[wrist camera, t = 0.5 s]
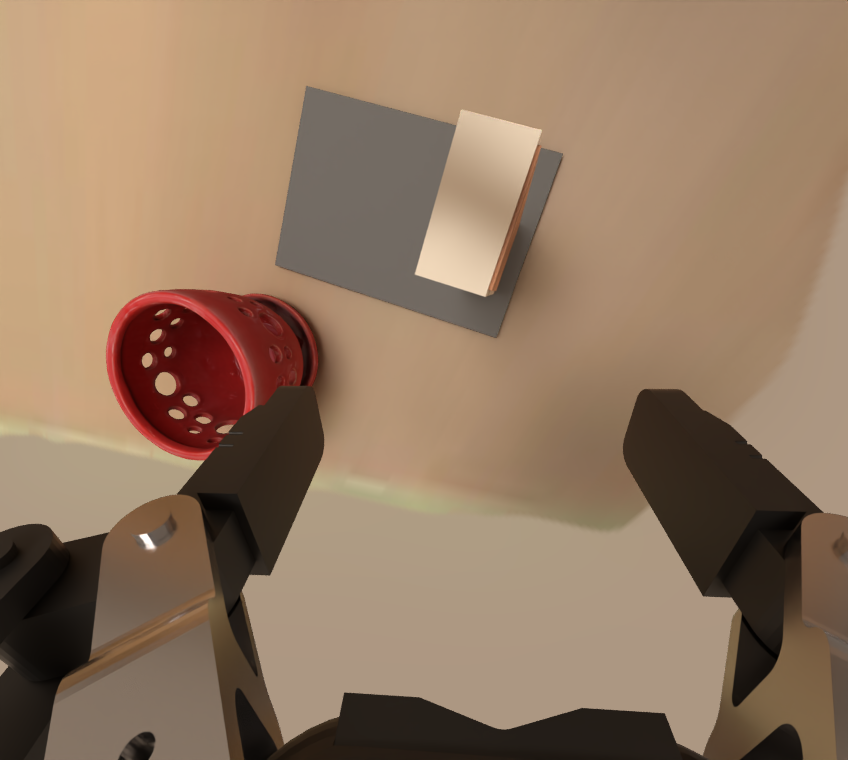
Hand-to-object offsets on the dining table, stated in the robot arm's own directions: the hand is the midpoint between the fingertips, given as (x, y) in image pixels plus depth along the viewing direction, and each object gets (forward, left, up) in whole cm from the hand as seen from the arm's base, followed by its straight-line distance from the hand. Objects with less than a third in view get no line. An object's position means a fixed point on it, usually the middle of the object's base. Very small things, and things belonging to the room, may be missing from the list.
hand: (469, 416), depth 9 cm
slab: (-6, -2, -24) cm, 25 cm away
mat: (-7, -10, -25) cm, 28 cm away
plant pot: (+10, -20, -25) cm, 34 cm away
